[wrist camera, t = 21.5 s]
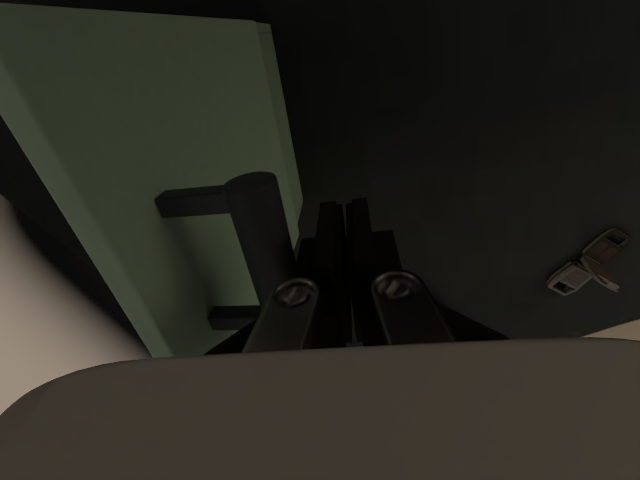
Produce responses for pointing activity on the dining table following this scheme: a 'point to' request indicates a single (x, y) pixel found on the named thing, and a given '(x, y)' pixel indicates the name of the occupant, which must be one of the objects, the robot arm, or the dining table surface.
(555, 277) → the strap clip
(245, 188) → the lunchbox lid
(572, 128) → the dining table surface
